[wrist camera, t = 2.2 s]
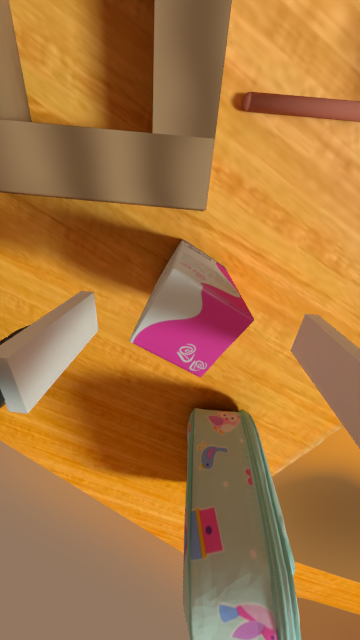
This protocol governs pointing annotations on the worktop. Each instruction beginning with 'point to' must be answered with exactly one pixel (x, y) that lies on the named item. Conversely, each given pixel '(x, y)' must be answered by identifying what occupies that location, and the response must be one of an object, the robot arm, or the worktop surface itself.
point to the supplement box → (192, 312)
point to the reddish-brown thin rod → (301, 106)
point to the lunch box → (234, 536)
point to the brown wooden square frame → (126, 146)
